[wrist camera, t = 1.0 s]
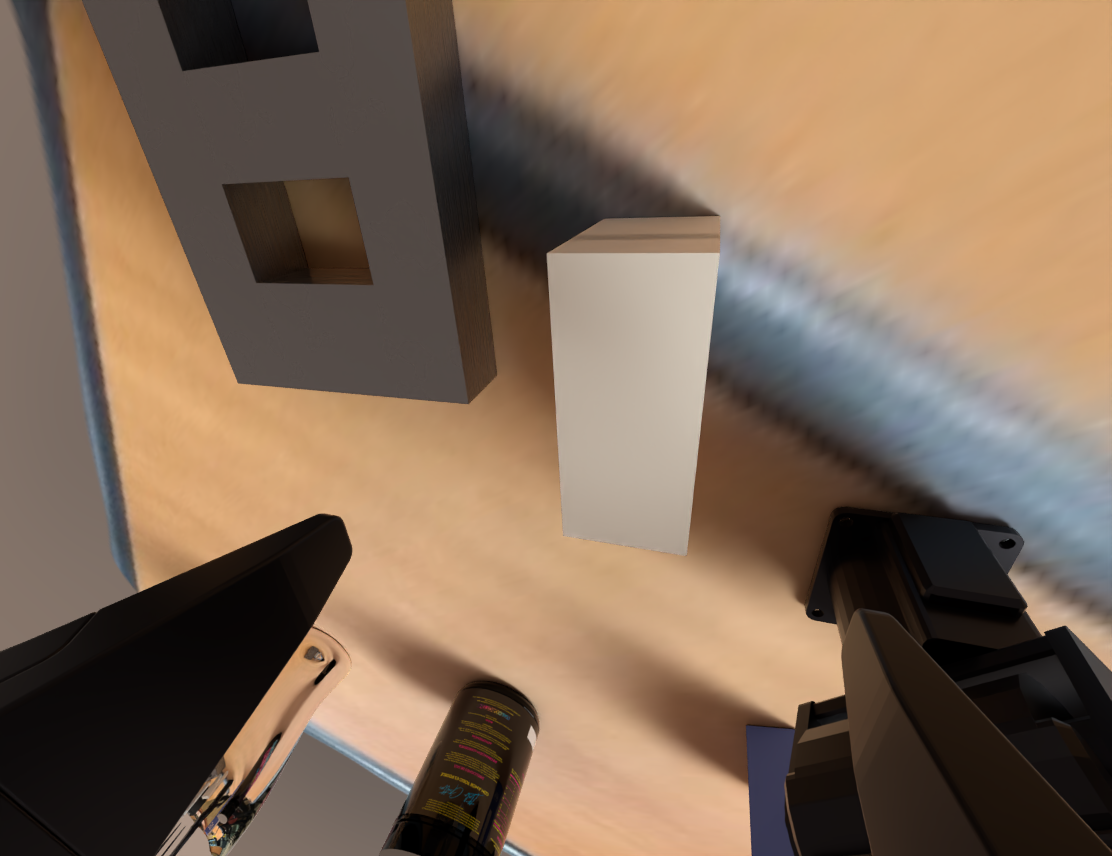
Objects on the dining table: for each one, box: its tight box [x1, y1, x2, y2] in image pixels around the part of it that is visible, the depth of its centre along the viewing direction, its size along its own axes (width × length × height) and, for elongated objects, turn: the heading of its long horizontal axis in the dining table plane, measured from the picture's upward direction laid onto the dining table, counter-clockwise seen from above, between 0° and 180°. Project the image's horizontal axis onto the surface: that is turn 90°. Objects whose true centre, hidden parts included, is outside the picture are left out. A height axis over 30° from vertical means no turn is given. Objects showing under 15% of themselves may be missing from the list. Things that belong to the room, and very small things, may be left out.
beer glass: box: [155, 627, 351, 856], centre depth 34 cm, size 7×7×15 cm
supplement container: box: [379, 681, 540, 856], centre depth 32 cm, size 7×7×10 cm
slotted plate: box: [82, 0, 497, 404], centre depth 18 cm, size 20×12×3 cm, turn 3°
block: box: [547, 216, 720, 556], centre depth 16 cm, size 9×4×7 cm, turn 3°
